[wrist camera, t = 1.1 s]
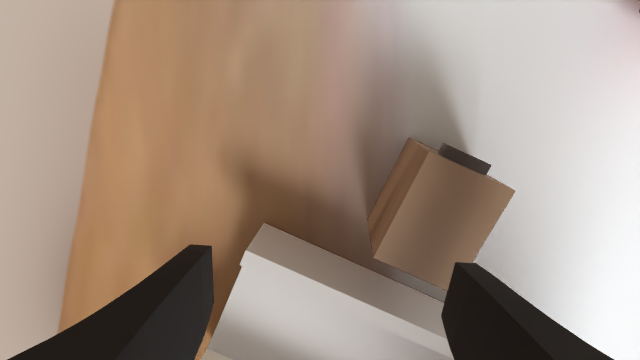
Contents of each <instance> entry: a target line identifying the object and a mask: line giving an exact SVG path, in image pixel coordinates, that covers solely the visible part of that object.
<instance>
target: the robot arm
mask: <svg viewBox="0 0 640 360" xmlns="http://www.w3.org/2000/svg"><path fill="white" fill-rule="evenodd" d="M213 303H214V293H213V269H212V246H204V245H189V246H188V247H186V248H185V249H184V250H182V251H181V252H180V253H178V254H177V255H176V256H175V257H173V258H172V259H171V260H169V261H168V262H167V263H165V264H164V265H163V266H162V267H160V268H159V269H158V270H156V271H155V272H154V273H152V274H151V275H149V276H148V277H147V278H145V279H144V280H143V281H141V282H140V283H139V284H137V285H136V286H134V287H133V288H131V289H130V290H128V291H127V292H125V293H124V294H123V295H121V296H120V297H118V298H117V299H115V300H114V301H112V302H111V303H109V304H108V305H106V306H105V307H103V308H102V309H100V310H98V311H97V312H95V313H94V314H92V315H90V316H89V317H87V318H85V319H84V320H82V321H80V322H78V323H77V324H75V325H73V326H71V327H70V328H68V329H66V330H64V331H63V332H61V333H59V334H57V335H55V336H54V337H52V338H50V339H48V340H46V341H44V342H42V343H40V344H38V345H36V346H34V347H32V348H30V349H28V350H26V351H24V352H22V353H20V354H18V355H16V356H14V357H12V358H10V359H8V360H194V359H195V356H196V354H197V352H198V349H199V347H200V344H201V342H202V340H203V337H204V335H205V331H206V328H207V325H208V321H209V318H210V314H211V311H212V307H213ZM441 318H442V322H443V326H444V330H445V333H446V337H447V340H448V344H449V347H450V350H451V353H452V355H453V358H454V360H614V359H612V358H610V357H609V356H607V355H605V354H604V353H602V352H600V351H599V350H597V349H596V348H594V347H592V346H591V345H589V344H588V343H586V342H585V341H583V340H582V339H580V338H579V337H577V336H576V335H574V334H573V333H571V332H570V331H568V330H567V329H565V328H564V327H563V326H561V325H560V324H558V323H557V322H555V321H554V320H552V319H551V318H550V317H548V316H547V315H545V314H544V313H543V312H541V311H540V310H539V309H537V308H536V307H534V306H533V305H532V304H530V303H529V302H528V301H526V300H525V299H524V298H522V297H521V296H520V295H518V294H517V293H516V292H514V291H513V290H512V289H511V288H509V287H508V286H507V285H505V284H504V283H503V282H501V281H500V280H499V279H497V278H496V277H495V276H493V275H492V274H491V273H489V272H488V271H486V270H485V269H483V268H482V267H481V266H479V265H477V264H476V263H463V262H455V265H454V269H453V273H452V276H451V280H450V284H449V288H448V291H447V295H446V299H445V302H444V306H443V310H442V314H441Z"/></svg>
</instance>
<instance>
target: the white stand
mask: <svg viewBox="0 0 640 360" xmlns="http://www.w3.org/2000/svg"><path fill="white" fill-rule="evenodd" d="M240 265H241V266H242V268H241V270H240V273H239V275H238V277H237V280H236V282H235V284H234V287H233V289H232V291H231V294H230V296H229V299H228V301H227V303H226V306H225V308H224V310H223V313H222V315H221V317H220V320H219V322H218V324H217V327H216V329H215V331H214V334H213V336H212V338H211V341H210V343H209V346H208V348H207V350H206V352H205V353H204V355H203V357H202V359H201V360H454V358H453V355H452V353H451V350H450V347H449V344H448V340H447V337H446V333H445V330H444V326H443V322H442V318H441V314H442V310H443V306H444V303H443V302H441V301H439V300H437V299H434V298H432V297H430V296H428V295H426V294H423V293H421V292H419V291H417V290H414V289H412V288H410V287H408V286H405V285H403V284H401V283H399V282H396V281H394V280H392V279H390V278H387V277H385V276H383V275H381V274H378V273H376V272H374V271H372V270H369V269H367V268H365V267H363V266H360V265H358V264H356V263H354V262H351V261H349V260H347V259H345V258H342V257H340V256H338V255H336V254H333V253H331V252H329V251H327V250H324V249H322V248H320V247H318V246H315V245H313V244H311V243H309V242H306V241H304V240H302V239H300V238H297V237H295V236H293V235H291V234H288V233H286V232H284V231H282V230H279V229H277V228H275V227H273V226H270V225H268V224H266V223H264V224H263V225H262V227H261V228H260V230H259V231H258V233H257V234H256V236H255V237H254V239H253V240H252V242H251V243H250V245H249V246H248V248H247V249H246V251H245V253H244V256H243V258H242V260H241V263H240Z"/></svg>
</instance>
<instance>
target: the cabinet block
mask: <svg viewBox="0 0 640 360" xmlns="http://www.w3.org/2000/svg"><path fill="white" fill-rule="evenodd" d="M490 167H491V165H490V164H488V163H486V162H484V161H482V160H479V159H477V158H475V157H473V156H471V155H468V154H466V153H464V152H462V151H460V150H457V149H455V148H453V147H451V146H449V145H446V144H444V143H443V144H442V146H441V148H440V150H439V151H438V150H435V149H433V148H431V147H429V146H427V145H424V144H422V143H420V142H418V141H416V140H413V139H411V138H408V140H407V142H406V144H405V146H404V148H403V150H402V152H401V154H400V156H399V158H398V160H397V162H396V164H395V166H394V168H393V169H392V171H391V173H390V175H389V177H388V179H387V181H386V183H385V185H384V187H383V189H382V191H381V193H380V195H379V197H378V199H377V201H376V203H375V205H374V207H373V209H372V211H371V213H370V215H369V217H368V219H367V220H368V227H369V233H370V240H371V247H372V253H373V258H375V259H377V260H379V261H381V262H384V263H386V264H388V265H390V266H392V267H395V268H397V269H399V270H401V271H404V272H406V273H408V274H410V275H413V276H415V277H417V278H419V279H422V280H424V281H426V282H428V283H431V284H433V285H435V286H437V287H440V288H442V289H444V290H446V291H448V288H449V284H450V280H451V276H452V273H453V269H454V265H455V262H463V263H472V261H473V260H474V258H475V257H476V255H477V253H478V252H479V250H480V248H481V247H482V245H483V243H484V242H485V240H486V238H487V237H488V235H489V234H490V232H491V230H492V229H493V227H494V225H495V224H496V222H497V220H498V219H499V217H500V215H501V214H502V212H503V211H504V209H505V207H506V206H507V204H508V202H509V201H510V199H511V197H512V196H513V194H514V192H515V190H513V189H511V188H510V187H508V186H506V185H504V184H503V183H501V182H499V181H497V180H496V179H494V178H492V177H490V176H489V175H487V172H488V170H489V169H490Z"/></svg>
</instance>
